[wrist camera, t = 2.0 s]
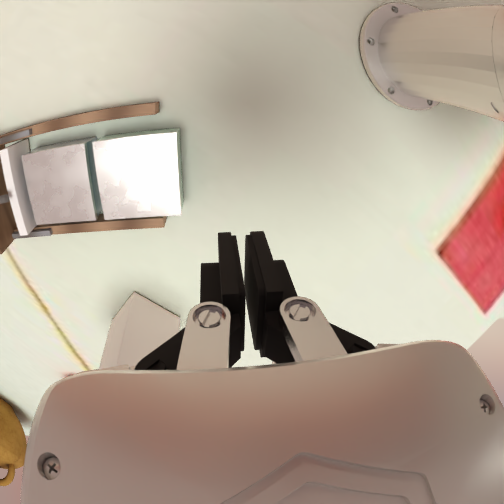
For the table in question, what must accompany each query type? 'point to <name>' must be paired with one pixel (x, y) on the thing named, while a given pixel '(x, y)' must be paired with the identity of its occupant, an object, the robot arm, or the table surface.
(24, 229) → the pusher
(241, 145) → the table surface
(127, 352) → the milk carton
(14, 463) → the vase
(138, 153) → the tin
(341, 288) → the table surface
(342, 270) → the table surface
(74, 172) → the white square block
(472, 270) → the table surface
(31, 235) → the lane
